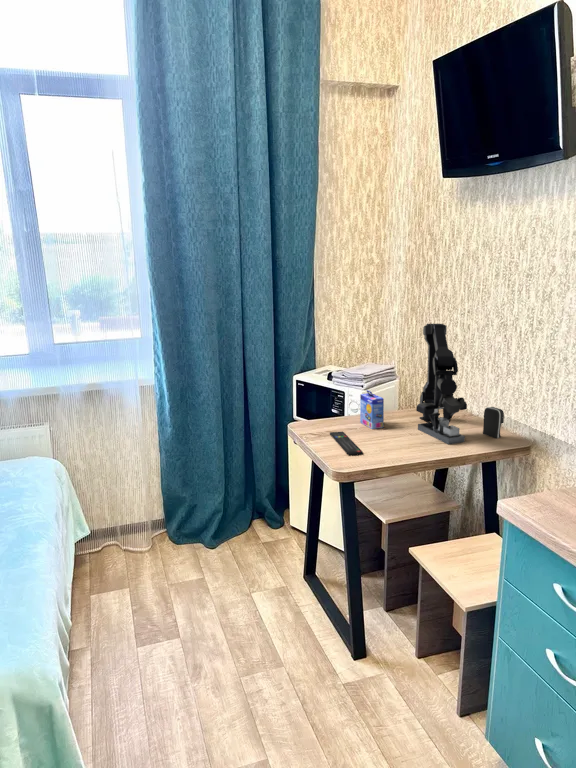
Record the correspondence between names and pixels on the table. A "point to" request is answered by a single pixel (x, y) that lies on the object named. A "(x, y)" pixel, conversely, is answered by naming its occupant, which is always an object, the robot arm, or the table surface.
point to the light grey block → (451, 431)
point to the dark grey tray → (439, 434)
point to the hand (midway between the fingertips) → (440, 428)
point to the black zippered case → (493, 421)
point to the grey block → (441, 424)
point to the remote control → (346, 443)
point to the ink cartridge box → (372, 410)
